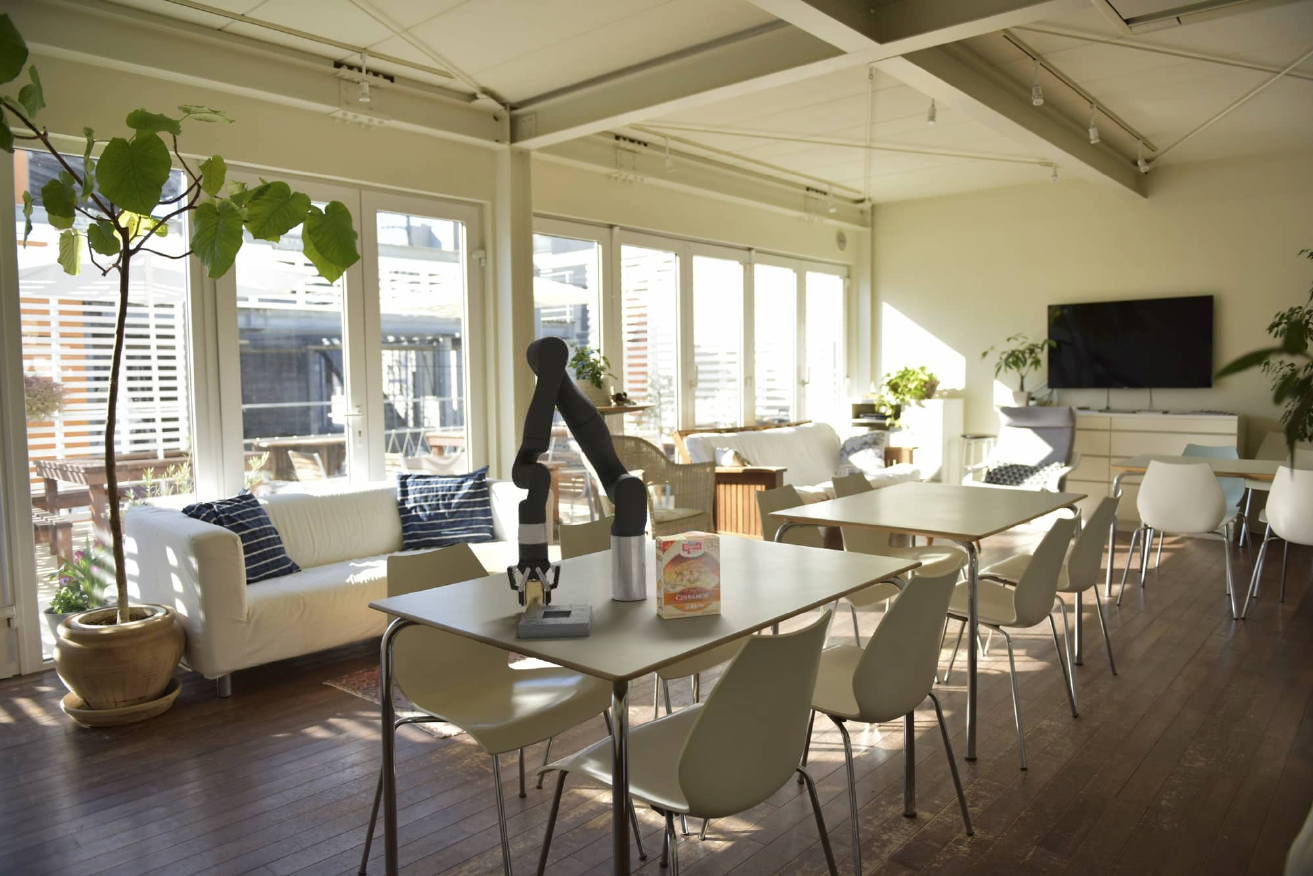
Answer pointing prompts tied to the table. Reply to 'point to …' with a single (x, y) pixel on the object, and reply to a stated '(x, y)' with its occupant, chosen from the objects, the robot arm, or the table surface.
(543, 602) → the short tan cylinder
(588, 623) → the block
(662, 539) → the coffeecake box
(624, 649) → the table surface
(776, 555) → the table surface
